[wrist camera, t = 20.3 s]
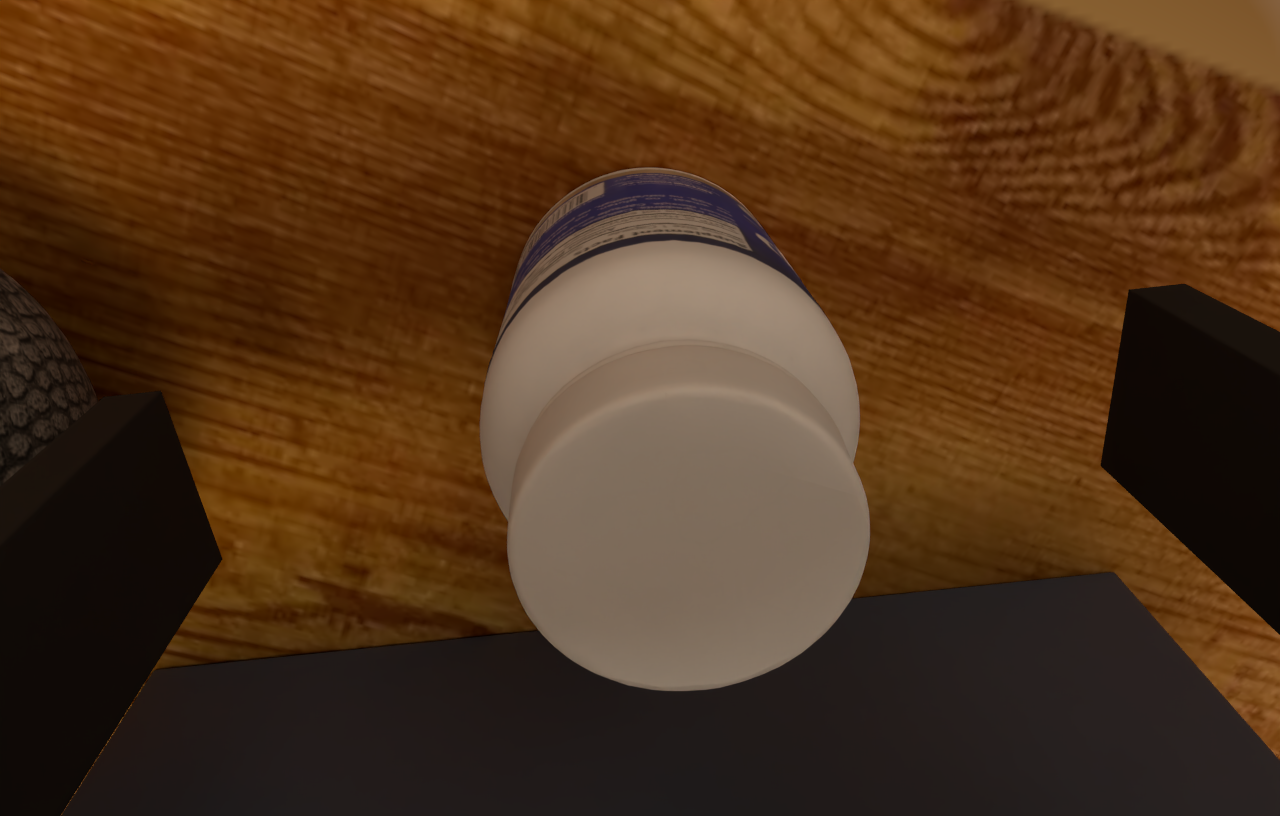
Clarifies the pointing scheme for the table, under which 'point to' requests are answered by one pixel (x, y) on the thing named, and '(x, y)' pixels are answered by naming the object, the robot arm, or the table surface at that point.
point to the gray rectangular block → (715, 725)
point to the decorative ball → (35, 379)
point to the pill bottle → (672, 438)
